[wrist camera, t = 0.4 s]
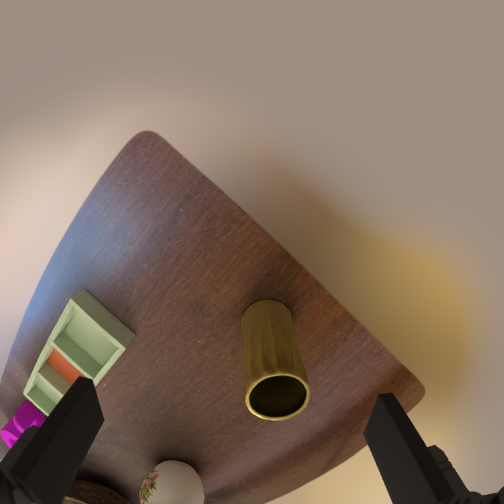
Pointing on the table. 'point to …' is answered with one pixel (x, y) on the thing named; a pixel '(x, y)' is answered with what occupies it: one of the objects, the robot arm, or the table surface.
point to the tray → (76, 350)
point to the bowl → (92, 494)
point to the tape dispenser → (21, 423)
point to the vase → (272, 362)
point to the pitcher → (172, 485)
